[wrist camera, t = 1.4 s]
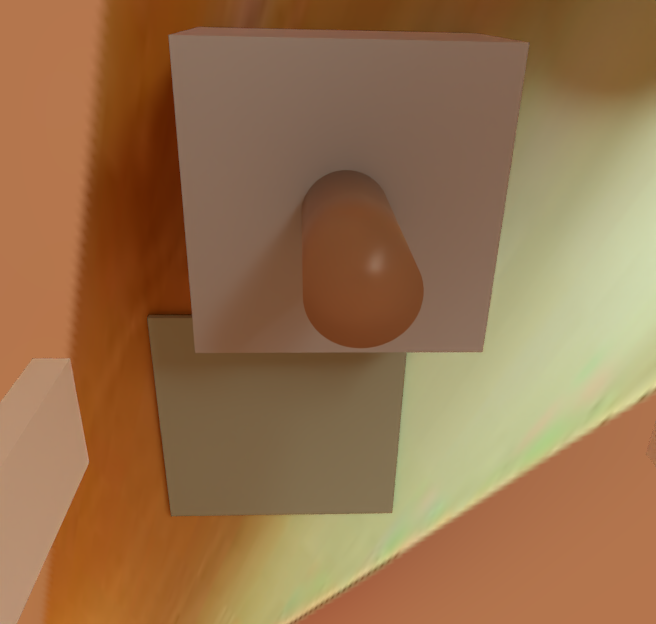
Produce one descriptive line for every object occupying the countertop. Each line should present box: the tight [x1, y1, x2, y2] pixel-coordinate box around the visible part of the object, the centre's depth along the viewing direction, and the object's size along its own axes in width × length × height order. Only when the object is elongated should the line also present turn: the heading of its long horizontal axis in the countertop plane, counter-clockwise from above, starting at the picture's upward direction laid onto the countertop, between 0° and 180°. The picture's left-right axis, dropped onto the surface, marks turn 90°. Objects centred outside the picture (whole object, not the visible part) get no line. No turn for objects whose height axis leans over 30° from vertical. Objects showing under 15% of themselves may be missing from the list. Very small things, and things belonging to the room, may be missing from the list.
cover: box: [168, 27, 529, 353], centre depth 26 cm, size 13×13×16 cm
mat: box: [147, 315, 406, 516], centre depth 39 cm, size 15×15×1 cm
